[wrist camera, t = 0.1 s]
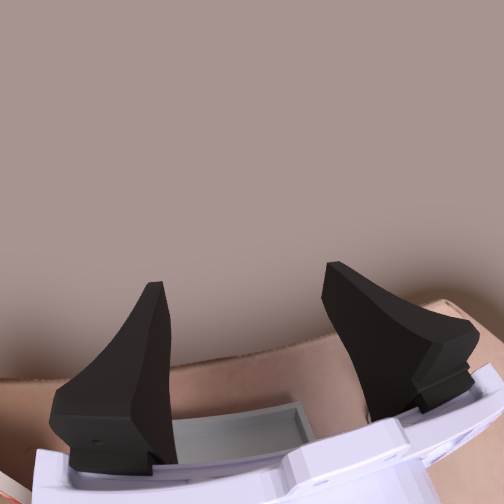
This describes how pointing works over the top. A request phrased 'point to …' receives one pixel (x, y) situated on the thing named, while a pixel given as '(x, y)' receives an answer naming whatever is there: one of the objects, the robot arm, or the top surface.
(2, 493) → the sign
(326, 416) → the top surface
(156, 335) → the robot arm
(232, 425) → the box
